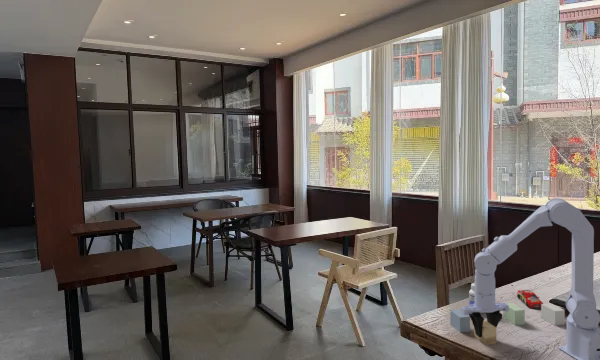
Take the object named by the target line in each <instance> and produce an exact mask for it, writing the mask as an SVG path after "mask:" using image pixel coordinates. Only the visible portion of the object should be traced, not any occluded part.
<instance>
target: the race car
mask: <svg viewBox="0 0 600 360" xmlns="http://www.w3.org/2000/svg"><path fill="white" fill-rule="evenodd" d="M516 295H517V299H518V300H519V301H521V303H523V304H524V305H525V306H526V307H527V308H530V309H541V304H544V302H542V301H541V300H540V296H538V295H536V293H535V292H533V291H532V290H528V289H519V290H517V294H516Z"/></svg>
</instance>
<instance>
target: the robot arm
mask: <svg viewBox="0 0 600 360" xmlns="http://www.w3.org/2000/svg"><path fill="white" fill-rule="evenodd" d="M552 222H553V223H554V224H557V225H559V226H561V227H563V228H565V229H567V230H568V231H569V232H570V233H571V287H570V289H569V296H568V297H567V299H566V301H565V307H566V310H567V311H568V312H569V314H568V316H567V317H566V330H565V331H566V341H565V342H566V344H565V345H558V347H557V348H558V349H559V350H561V351H562V352H564V353H566V354H567V355H569V356H571V357H572V358H574V359H575V360H600V327H599V324H600V313H599V311H598V309H597V300H596V298H595V293H594V263H595V262H594V261H595V260H594V255H595V254H594V251H595V248H594V247H595V246H594V241H595V239H594V238H595V229H594V226H593V225H592V224H591V223H590V221H589V220H588V219H587V218H586V217H585V215H584V214H583V212H582V211H581V210H580V209H579V208H577V207H576V206H574V205H573V204H571V203H570V202H568V201H566V200H564V199H562V198H558V197H557V198H552V199H549V200H548V201H546V203H545V204H542V205H541V206H540V207H538V208H537V209H536V210H534V211H533V213H531V214H530V215H529V216H528V217H527V218H526V219H525V220H524V221H522V223H521V224H519V225H518V226H517V227H515V229H514V230H513V231H512V232H511V233H509V234H508V235H506V234H505V235H504V234H503V235H502V234H501V235H500V236H495V237H494V238H493V242H492V243H491V244H489V245H488V246H487V247H486V248H485V247H483V248H482V249H481V251H479V252H478V253H477V254H476V255H475V257H474V259H473V262H474V268H475V270H474V274H475V275H474V283H475V304H471V305H469V304H468V305H465V306H461V307H460V310H461V313H462V314H463V315H469V316H470V321H471V323H472V325H473V329H474V328H475V333H476V335H477V336H478V337H482V326H483V321H484V319H485V317H483V316H482V314H484V313H485V314H486V315H485V316H486V321H487V322H489V323H490V324H492V325H493V326H495V327H496V328H497V327H498V326H499V324H500V321H501V320H502V319H503V313H501V312H503V311H509V305H507V303H505V302H496V277H495V272H496V270H497V266H498V265H500V264H502V263H503V262H505V261H506V260H507V259H508V258H509V257H511V256H512V255H513V254H514V253H515V252H517V250H518V244H519V243H520V242H521V241H523V240H524V239H526V238H527V237H528V236H530V235H531V234H533V233H534V232H535V231H536V230H538V229H539V228H542V227H552V226H553V223H552ZM480 313H482V314H480Z"/></svg>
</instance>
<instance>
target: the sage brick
mask: <svg viewBox="0 0 600 360" xmlns="http://www.w3.org/2000/svg"><path fill="white" fill-rule="evenodd" d="M506 304H507V305H509V311H502V312H503V313H502V319H504V320H506V321H508V322H509V323H511V324H512V325H514V326H520V325H525V324H526V323H525V322H526V321H525V317H526V315H525V312H526V310H525V309H524V308H522V307H520V306H519V305H517V304H515V303H513V302H509V303H506Z"/></svg>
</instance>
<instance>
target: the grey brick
mask: <svg viewBox="0 0 600 360" xmlns="http://www.w3.org/2000/svg"><path fill="white" fill-rule="evenodd" d="M540 310H541V312H540V319H542V320H543V321H545V322H547V323H549V324H551V325H553V326H554V327H555V326H557V327H558V326H565V316H566V315H565V314H566V313H565V312H566V311H565V309H564V308H561V307H559V306H557V305H555V304H553V303H551V302H549V303H543V304H541V308H540Z"/></svg>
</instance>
